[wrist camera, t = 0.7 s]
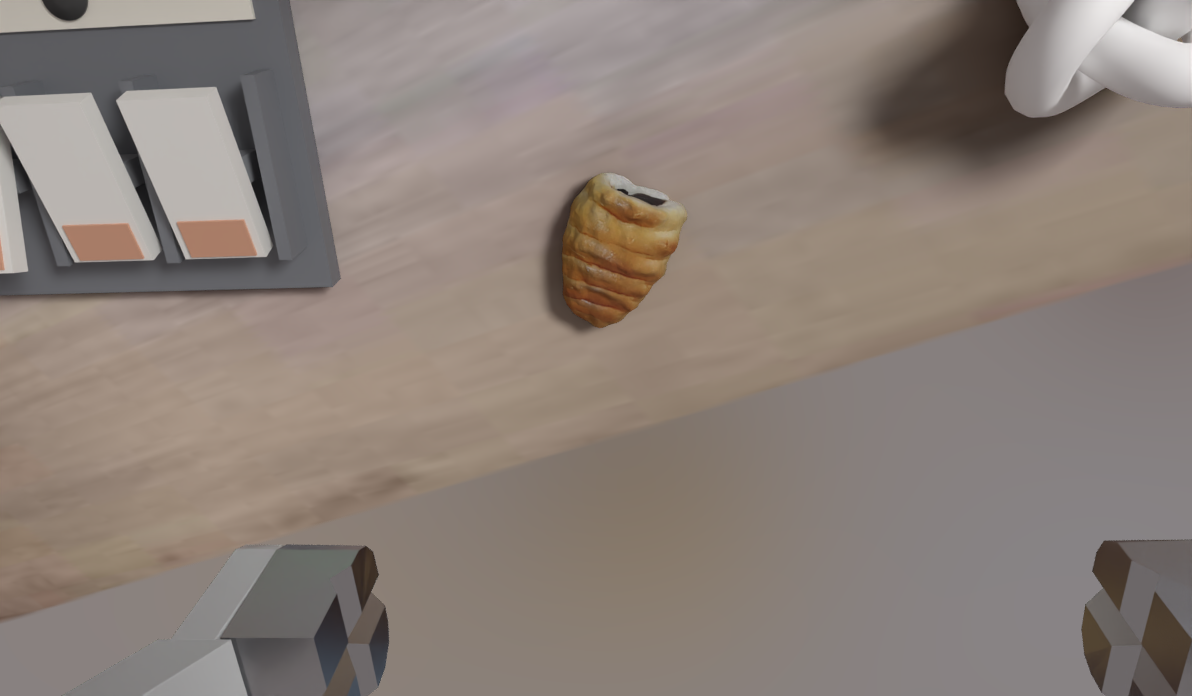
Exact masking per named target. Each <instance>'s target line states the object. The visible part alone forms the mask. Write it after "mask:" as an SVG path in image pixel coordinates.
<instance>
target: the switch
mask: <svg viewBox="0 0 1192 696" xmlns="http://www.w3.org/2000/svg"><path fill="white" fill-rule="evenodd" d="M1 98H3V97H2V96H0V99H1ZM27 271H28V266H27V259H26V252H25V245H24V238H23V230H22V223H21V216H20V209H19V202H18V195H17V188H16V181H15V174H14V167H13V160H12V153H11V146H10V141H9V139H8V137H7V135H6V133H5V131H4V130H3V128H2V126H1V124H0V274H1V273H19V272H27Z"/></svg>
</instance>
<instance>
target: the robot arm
mask: <svg viewBox="0 0 1192 696" xmlns="http://www.w3.org/2000/svg"><path fill="white" fill-rule="evenodd" d="M1092 572H1093V573H1094V575H1095V576H1096V578H1097V579H1098V581H1099V582H1100V583H1101V585H1102V587H1103V589H1102V590H1100V591H1099V592H1098V593H1097V594H1096V595H1095V596H1094V597H1093V598H1092V599H1091V600H1090V601H1088V602H1087V603H1086V604H1085V610H1084V616H1083V623H1082V629H1081V630H1082V638H1083V647H1084V655H1085V658H1086V661H1087V664H1088V667H1089V669H1090V672H1091V675H1092V676H1093V678H1094V680H1095V682H1096V684H1097V685H1098V687H1099V689H1100V691H1101V693H1103V694H1104V695H1106V696H1192V539H1191V540H1116V541H1115V540H1113V541H1112V540H1111V541H1110V540H1109V541H1103V543H1102V544H1101V546H1100V548H1099V549H1098V551H1097V552H1096V557H1095V561H1094V566H1093V570H1092ZM378 576H379V573H378V569H377V566H376V561H375V557H374V553H373V551H372V550H371V549H369V548H368V547H367V546H351V545H285V546H283V545H244V546H242V547H240V548H238V549H236V550H235V551H234V552H233V553H232V555H231V556H230V558H229V559H228V560H227V562H226V563H225V564H224V566H223V567H222V569H221V570H220V572H219V573H218V574H217V576H216V577H215V578H214V580H213V581H212V582H211V584H210V585H209V587H208V588H207V590H206V591H205V592H204V593H203V595H202V596H201V598H200V599H199V600H198V602H197V603H196V605H195V606H194V608H193V609H192V610H191V612H190V613H189V614H188V616H187V617H186V619H185V620H184V621H183V623H182V624H181V625H180V627H179V628H178V630H177V631H176V632H175V634H174V635H173V637H172V638H171V639H166V640H165V639H157V640H156V641H154V642H152V643H151V644H149V645H147V646H146V647H144V648H142V649H140V650H139V651H137V652H135V653H134V654H132V655H131V656H128V657H127V658H125V659H123V660H122V661H120V662H118V663H117V664H115V665H113V666H111V667H110V668H108V669H106V670H105V671H103V672H101V673H100V674H98V675H96V676H94V677H93V678H91V679H89V680H88V681H86V682H84V683H83V684H81V685H79V686H77V687H76V688H74V689H72V690H71V691H69V692H67V693H66V694H64V695H62V696H368V695H369V694H370V693H372V692H373V691H374V690H376V689H377V688H378V686H379V683H380V681H381V678H382V675H383V672H384V670H385V666H386V659H387V652H388V646H389V628H388V618H387V613H386V608H385V605H384V604H383V603H382V602H381V601H380V600H379V599H378V598H377V597H376V596H375V595H374V594H373V593H372V592H371V591H372V589H373V587H374V585H375V582H376V580H377V578H378Z"/></svg>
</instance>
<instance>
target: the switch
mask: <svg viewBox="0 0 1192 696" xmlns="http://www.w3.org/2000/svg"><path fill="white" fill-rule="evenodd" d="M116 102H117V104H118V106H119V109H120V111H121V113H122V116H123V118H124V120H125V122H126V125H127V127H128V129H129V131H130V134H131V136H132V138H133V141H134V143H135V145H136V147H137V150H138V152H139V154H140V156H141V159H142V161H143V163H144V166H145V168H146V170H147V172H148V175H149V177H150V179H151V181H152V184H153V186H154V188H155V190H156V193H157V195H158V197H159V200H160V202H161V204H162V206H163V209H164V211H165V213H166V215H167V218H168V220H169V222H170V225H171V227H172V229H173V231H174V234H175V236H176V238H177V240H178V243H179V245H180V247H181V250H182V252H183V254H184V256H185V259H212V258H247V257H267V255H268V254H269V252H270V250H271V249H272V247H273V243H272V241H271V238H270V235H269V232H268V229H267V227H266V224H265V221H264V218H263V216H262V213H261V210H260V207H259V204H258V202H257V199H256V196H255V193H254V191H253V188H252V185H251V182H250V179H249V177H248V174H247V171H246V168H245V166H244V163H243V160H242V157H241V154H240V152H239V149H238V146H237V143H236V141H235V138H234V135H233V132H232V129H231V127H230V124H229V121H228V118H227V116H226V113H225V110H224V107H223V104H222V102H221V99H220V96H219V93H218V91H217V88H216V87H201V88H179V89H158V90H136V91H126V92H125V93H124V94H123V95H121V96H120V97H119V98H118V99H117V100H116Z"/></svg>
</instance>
